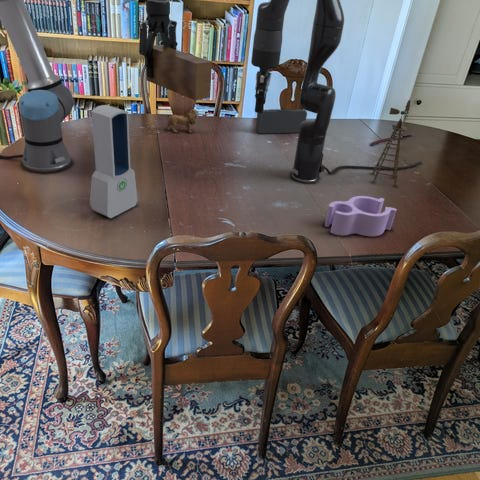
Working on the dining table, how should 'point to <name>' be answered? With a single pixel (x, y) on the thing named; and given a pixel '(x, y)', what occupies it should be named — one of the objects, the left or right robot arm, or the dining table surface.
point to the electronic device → (112, 163)
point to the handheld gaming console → (280, 120)
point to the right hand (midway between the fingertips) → (260, 107)
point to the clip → (359, 216)
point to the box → (181, 72)
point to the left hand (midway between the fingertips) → (158, 75)
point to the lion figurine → (183, 120)
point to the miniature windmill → (399, 125)
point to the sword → (386, 139)
